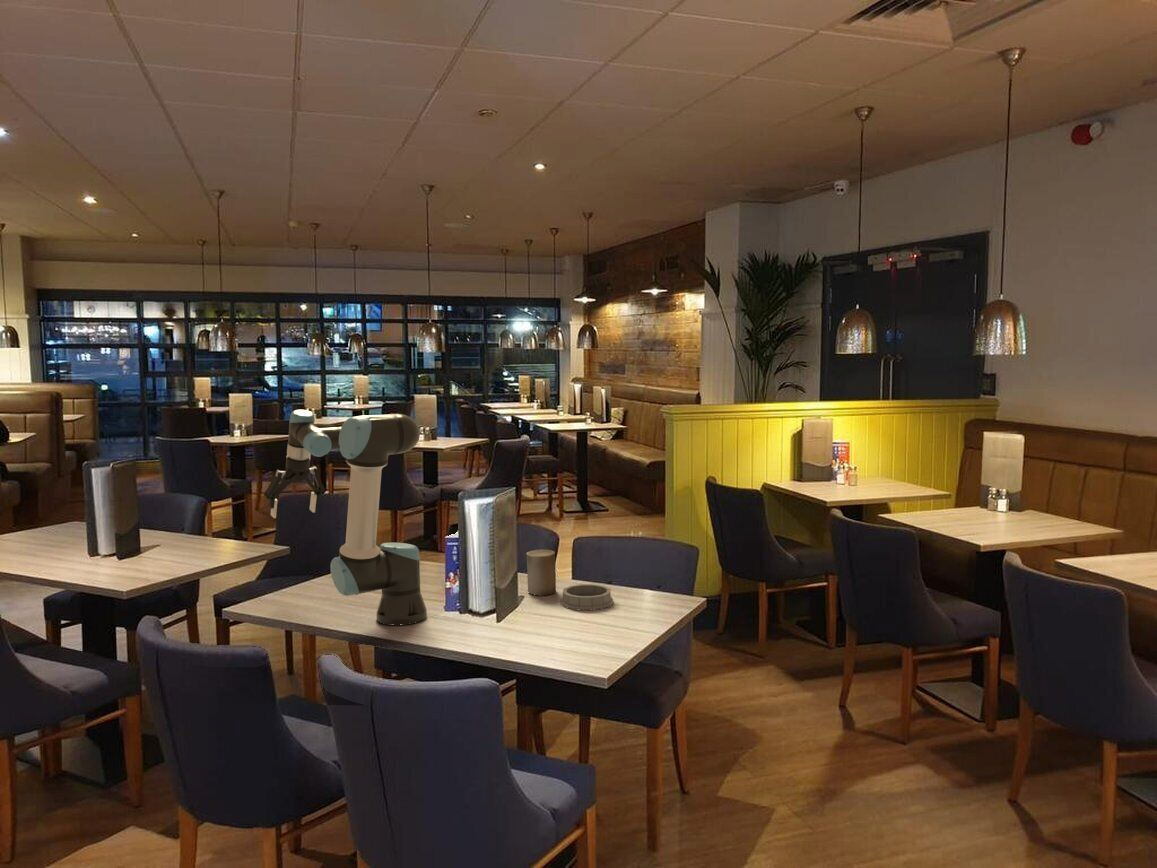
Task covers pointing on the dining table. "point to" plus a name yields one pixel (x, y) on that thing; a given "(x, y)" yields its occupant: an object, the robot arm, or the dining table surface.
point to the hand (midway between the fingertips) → (293, 513)
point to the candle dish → (586, 597)
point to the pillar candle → (541, 572)
